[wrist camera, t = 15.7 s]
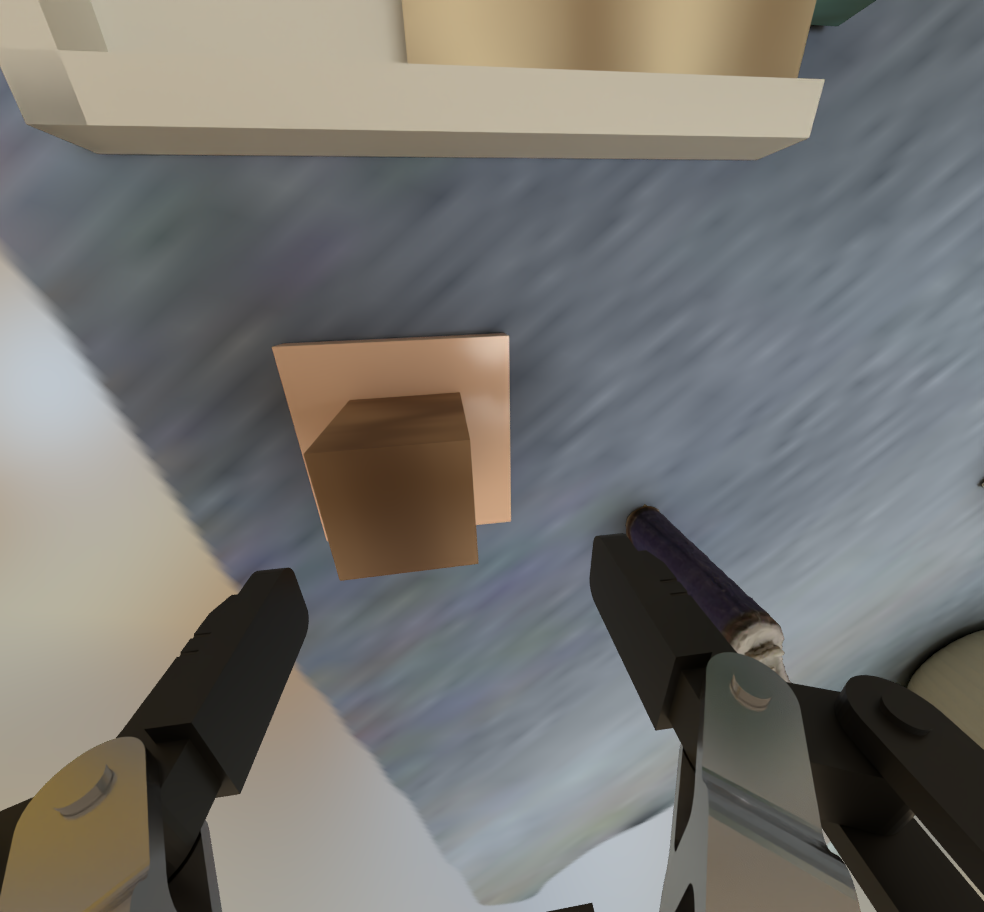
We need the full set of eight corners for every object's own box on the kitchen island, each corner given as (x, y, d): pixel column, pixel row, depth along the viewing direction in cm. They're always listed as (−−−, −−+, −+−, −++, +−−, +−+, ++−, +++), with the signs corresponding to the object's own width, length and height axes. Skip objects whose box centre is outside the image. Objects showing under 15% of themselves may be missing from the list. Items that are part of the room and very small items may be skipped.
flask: (695, 583, 26) (846, 753, 16) (660, 602, 26) (787, 779, 17) (654, 496, 22) (820, 651, 13) (613, 519, 23) (743, 688, 13)
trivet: (504, 332, 17) (509, 335, 16) (507, 509, 21) (510, 521, 20) (283, 343, 16) (271, 347, 15) (332, 527, 20) (326, 540, 19)
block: (459, 392, 16) (470, 440, 11) (466, 485, 19) (478, 563, 13) (349, 400, 16) (303, 454, 10) (369, 495, 18) (340, 580, 13)
